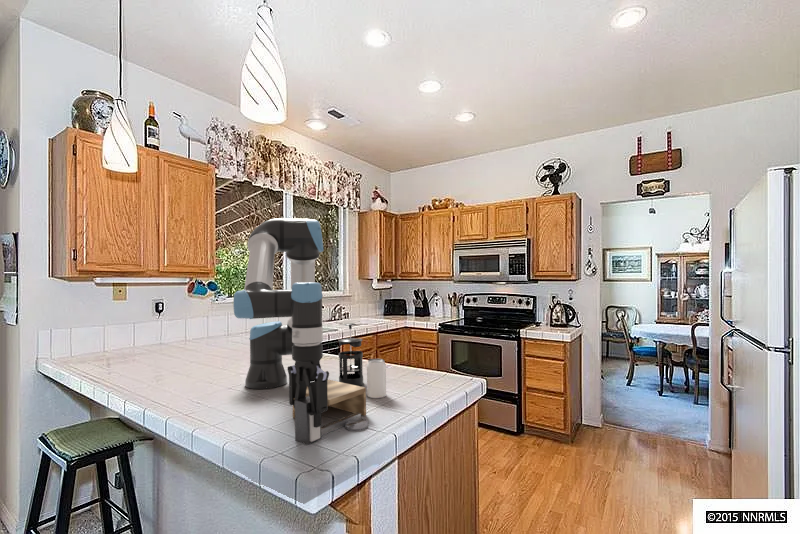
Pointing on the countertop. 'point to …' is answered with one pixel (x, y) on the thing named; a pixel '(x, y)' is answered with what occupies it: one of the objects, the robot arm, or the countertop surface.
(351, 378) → the french press
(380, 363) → the can
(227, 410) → the countertop surface
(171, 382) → the countertop surface
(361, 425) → the disc
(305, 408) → the tool
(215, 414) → the countertop surface
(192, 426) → the countertop surface
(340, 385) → the shelf
